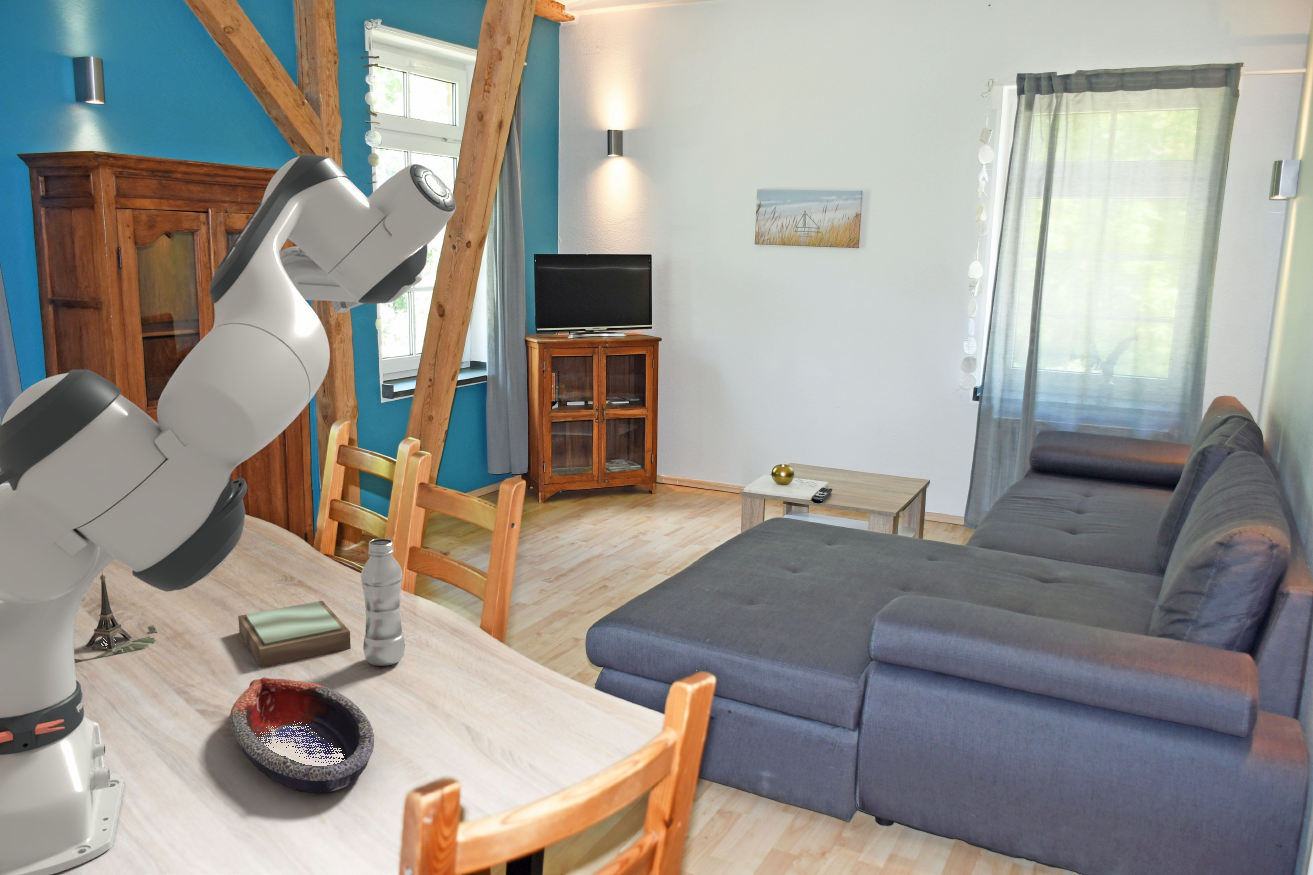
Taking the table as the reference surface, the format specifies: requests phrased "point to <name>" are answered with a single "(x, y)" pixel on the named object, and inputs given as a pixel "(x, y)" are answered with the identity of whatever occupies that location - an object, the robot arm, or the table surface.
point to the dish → (320, 712)
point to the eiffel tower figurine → (113, 632)
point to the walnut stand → (293, 633)
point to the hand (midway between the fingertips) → (307, 307)
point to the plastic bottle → (382, 605)
